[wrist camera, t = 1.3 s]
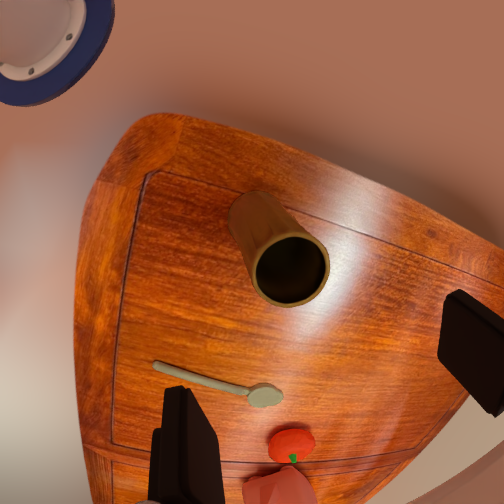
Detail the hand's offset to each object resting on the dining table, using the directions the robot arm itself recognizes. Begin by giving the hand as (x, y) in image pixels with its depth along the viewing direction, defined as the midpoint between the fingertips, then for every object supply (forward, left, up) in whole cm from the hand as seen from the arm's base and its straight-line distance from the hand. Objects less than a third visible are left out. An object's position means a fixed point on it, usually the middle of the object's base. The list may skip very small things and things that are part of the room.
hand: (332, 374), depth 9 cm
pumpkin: (+24, -30, -25) cm, 45 cm away
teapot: (+31, -46, -25) cm, 61 cm away
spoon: (+8, -22, -25) cm, 34 cm away
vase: (+2, 0, -25) cm, 25 cm away
